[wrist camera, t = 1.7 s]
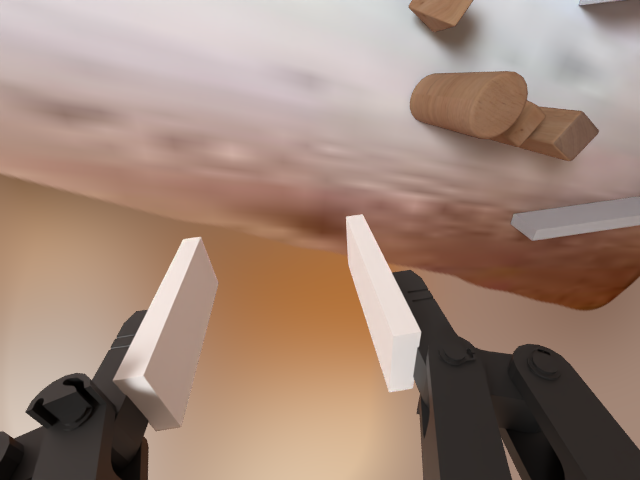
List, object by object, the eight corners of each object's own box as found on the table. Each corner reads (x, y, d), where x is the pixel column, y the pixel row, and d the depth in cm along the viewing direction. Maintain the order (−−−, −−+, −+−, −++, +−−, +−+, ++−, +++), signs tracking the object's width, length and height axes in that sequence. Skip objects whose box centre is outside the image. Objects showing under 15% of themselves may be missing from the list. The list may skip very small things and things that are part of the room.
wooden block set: (544, 104, 30) (656, 115, 22) (483, 174, 33) (560, 209, 24) (423, -28, 24) (513, -91, 15) (360, 74, 27) (404, 72, 18)
